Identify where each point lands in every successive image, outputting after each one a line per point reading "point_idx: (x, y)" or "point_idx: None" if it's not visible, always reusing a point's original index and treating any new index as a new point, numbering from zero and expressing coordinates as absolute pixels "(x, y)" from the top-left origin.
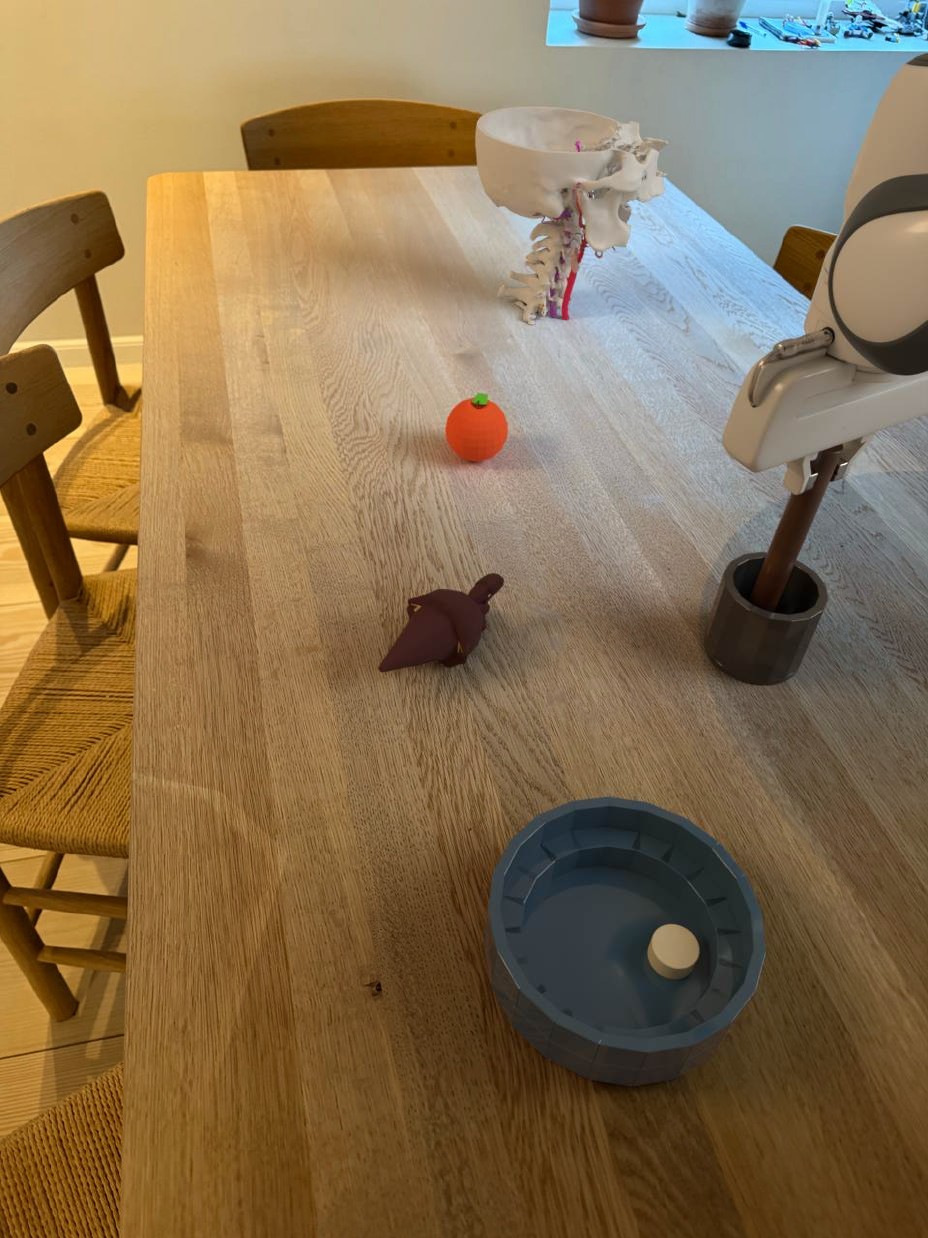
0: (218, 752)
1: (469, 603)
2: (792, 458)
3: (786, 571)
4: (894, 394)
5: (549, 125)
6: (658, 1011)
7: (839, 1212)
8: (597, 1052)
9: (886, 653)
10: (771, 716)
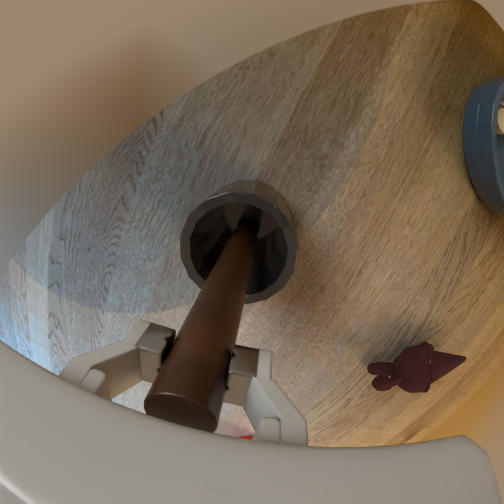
0: (497, 350)
1: (415, 377)
2: (401, 452)
3: (240, 255)
4: (6, 464)
5: None
6: None
7: (495, 24)
8: None
9: (153, 146)
10: (302, 165)
